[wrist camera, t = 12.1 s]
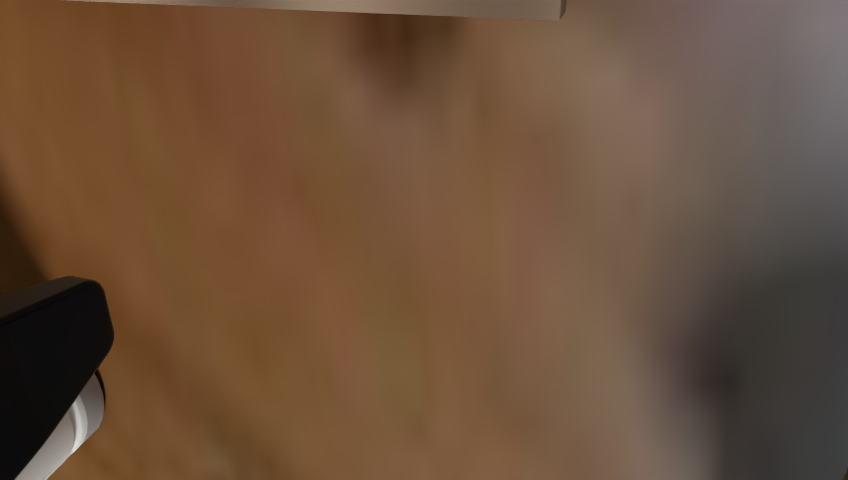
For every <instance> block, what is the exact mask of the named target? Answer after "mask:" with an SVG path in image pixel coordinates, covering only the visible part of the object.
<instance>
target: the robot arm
mask: <svg viewBox="0 0 848 480" xmlns="http://www.w3.org/2000/svg"><path fill="white" fill-rule="evenodd" d="M113 341H114V329H113V325H112V321H111V317H110V312H109V308H108V304H107V300H106V296H105V292H104V289H103V287H102V286H101V285H100V283H98V282H96V281H94V280H90V279H85V278H80V277H75V276H66V277H62V278H58V279H55V280H51V281H47V282H44V283H40V284H36V285H32V286H29V287H25V288H21V289H18V290H14V291H10V292H7V293H3V294H0V480H15V479H16V478H17V477H18V475H19V474H20V473H21V472H22V471H23V469H24V468H25V467H26V466H27V465H28V463H29V462H30V461H31V460H32V459H33V457H34V456H35V455H36V454H37V452H38V451H39V450H40V449H41V447H42V446H43V445H44V444H45V442H46V441H47V440H48V438H49V437H50V436H51V434H52V433H53V431H54V430H55V429H56V427H57V426H58V424H59V423H60V422H61V420H62V419H63V417H64V416H65V414H66V413H67V412H68V410H69V409H70V407H71V406H72V404H73V403H74V402H75V400H76V399H77V397H78V396H79V394H80V393H81V392H82V390H83V389H84V387H85V386H86V384H87V383H88V381H89V380H90V379H91V377H92V376H93V374H94V373H95V371H96V370H97V369H98V367H99V366H100V364H101V363H102V361H103V360H104V359H105V357H106V356H107V354H108V353H109V351H110V350H111V347H112V345H113ZM843 480H848V468H847V471H846V473H845V475H844V478H843Z"/></svg>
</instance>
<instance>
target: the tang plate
mask: <svg viewBox="0 0 848 480" xmlns="http://www.w3.org/2000/svg"><path fill="white" fill-rule="evenodd" d="M70 1H94V2H118V3H142V4H167V5H191V6H215V7H240V8H264V9H288V10H313V11H337V12H361V13H386V14H410V15H434V16H459V17H483V18H507V19H532V20H556V21H559V20H560V19H561V17H562V16H563V14H564V13H565V9H566V0H70Z"/></svg>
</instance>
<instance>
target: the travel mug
mask: <svg viewBox="0 0 848 480" xmlns="http://www.w3.org/2000/svg"><path fill="white" fill-rule="evenodd" d="M103 414H104V398H103V392H102V389H101V386H100V383H99V381H98V379H97V377H96V375H95V373H94V374H93V376H92V377H91V379H90V380H89V381H88V383H87V384H86V386H85V387H84V389H83V390H82V392H81V393H80V394H79V396H78V397H77V399H76V400H75V402H74V403H73V404H72V406H71V407H70V409H69V410H68V412H67V413H66V414H65V416H64V417H63V419H62V420H61V422H60V423H59V424H58V426H57V427H56V429H55V430H54V431H53V433H52V434H51V436H50V437H49V438H48V440H47V441H46V442H45V444H44V445H43V446H42V447H41V449H40V450H39V451H38V452H37V454H36V455H35V456H34V457H33V459H32V460H31V461H30V462H29V463H28V465H27V466H26V467H25V468H24V469H23V471H22V472H21V473H20V474H19V475H18V477H17V478H16V479H15V480H46V479H47V478H48V477H49V476H50V475H51V474H52V473H53V472H54V471H55V470H56V469H57V468H58V467H59V466H60V465H61V464H62V463H63V462H64V461H65V460H66V459H67V458H68V457H69V456H70V454H72V453H74V452H75V451H76V450H77V449H78V448H79V447H80V446H81V445H82V444H83V443H84V442H85V441H86V440H87V439H88V438H89V437H90V436H91V435H92V434H93V433H94V432H95V431H96V429H97V428H98V427H99V426H100V423H101V421H102V419H103Z"/></svg>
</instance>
